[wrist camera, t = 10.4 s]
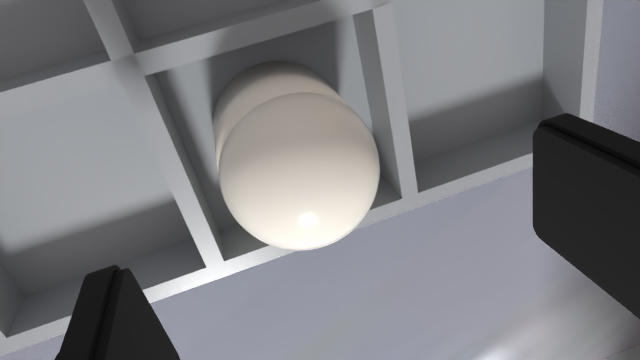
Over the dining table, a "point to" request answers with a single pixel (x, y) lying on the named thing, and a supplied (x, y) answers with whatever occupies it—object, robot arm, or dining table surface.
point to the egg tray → (197, 123)
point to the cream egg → (293, 157)
